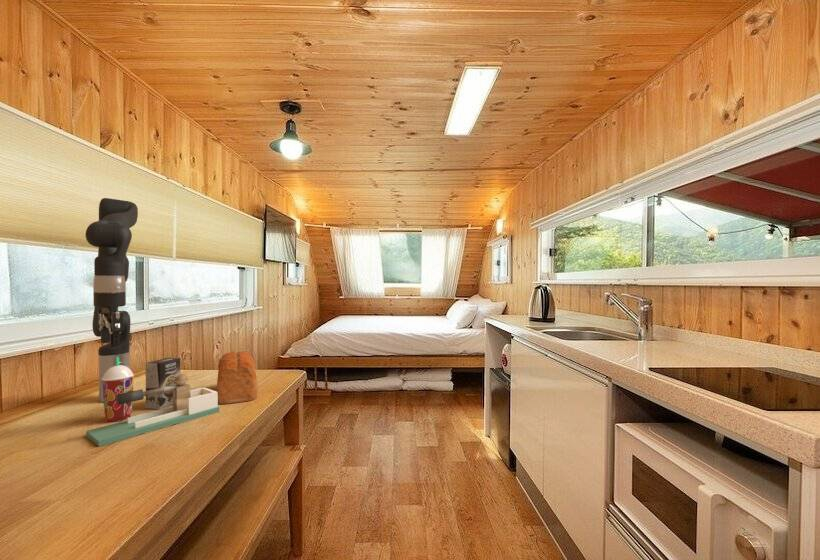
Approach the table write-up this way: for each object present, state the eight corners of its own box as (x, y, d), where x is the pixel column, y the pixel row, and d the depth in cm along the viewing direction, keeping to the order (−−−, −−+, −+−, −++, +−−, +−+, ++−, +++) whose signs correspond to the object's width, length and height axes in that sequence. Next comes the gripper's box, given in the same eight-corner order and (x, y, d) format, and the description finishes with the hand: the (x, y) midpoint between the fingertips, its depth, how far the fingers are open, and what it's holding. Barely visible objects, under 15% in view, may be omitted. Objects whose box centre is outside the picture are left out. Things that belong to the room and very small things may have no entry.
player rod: (116, 425, 109) (115, 385, 109) (186, 407, 124) (185, 372, 124) (120, 428, 107) (119, 387, 107) (190, 409, 122) (190, 373, 122)
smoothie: (141, 415, 123) (140, 355, 123) (113, 424, 115) (112, 360, 115) (123, 412, 125) (122, 353, 125) (95, 421, 118) (94, 359, 118)
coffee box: (160, 409, 128) (159, 363, 128) (145, 408, 129) (144, 362, 129) (181, 401, 137) (181, 357, 137) (167, 400, 138) (166, 357, 138)
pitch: (86, 436, 107) (86, 413, 107) (202, 404, 132) (202, 386, 132) (98, 446, 100) (98, 422, 100) (219, 411, 125) (219, 392, 125)
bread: (254, 382, 161) (253, 347, 161) (258, 400, 137) (258, 359, 137) (217, 387, 155) (217, 351, 155) (216, 406, 131) (215, 363, 131)
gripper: (86, 290, 112) (87, 343, 112) (101, 292, 104) (102, 349, 104) (117, 289, 118) (117, 340, 118) (133, 291, 110) (133, 345, 110)
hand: (110, 344), depth 111 cm, fingers open, 8 cm apart
